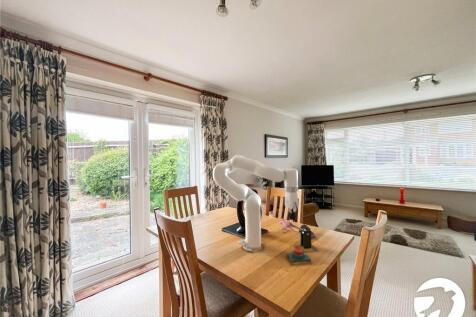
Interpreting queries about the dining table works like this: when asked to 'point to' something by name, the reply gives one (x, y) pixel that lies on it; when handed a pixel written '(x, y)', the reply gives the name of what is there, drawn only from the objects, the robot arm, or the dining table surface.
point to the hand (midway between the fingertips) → (292, 219)
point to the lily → (286, 224)
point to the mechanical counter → (308, 229)
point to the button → (298, 251)
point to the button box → (298, 257)
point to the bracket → (306, 238)
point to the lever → (296, 227)
